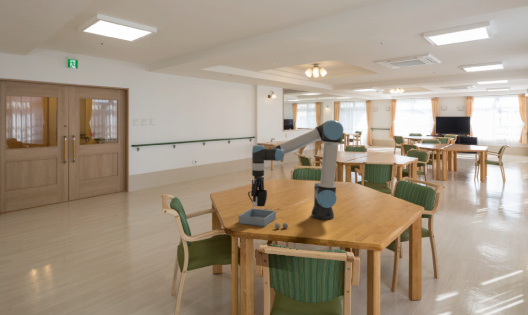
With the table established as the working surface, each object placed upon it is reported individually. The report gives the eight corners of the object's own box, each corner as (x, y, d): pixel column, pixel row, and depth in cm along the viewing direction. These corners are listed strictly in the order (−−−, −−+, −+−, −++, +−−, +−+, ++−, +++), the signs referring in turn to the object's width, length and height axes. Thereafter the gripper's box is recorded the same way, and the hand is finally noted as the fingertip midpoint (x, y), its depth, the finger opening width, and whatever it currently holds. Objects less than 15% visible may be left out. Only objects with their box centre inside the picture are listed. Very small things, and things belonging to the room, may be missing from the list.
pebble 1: (281, 228, 196) (281, 222, 195) (279, 229, 193) (279, 224, 192) (275, 227, 197) (275, 221, 197) (273, 229, 194) (273, 223, 194)
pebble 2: (288, 227, 196) (288, 222, 196) (286, 229, 194) (287, 224, 193) (283, 227, 198) (283, 222, 197) (281, 228, 195) (281, 223, 194)
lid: (271, 210, 235) (271, 207, 235) (269, 216, 222) (269, 212, 221) (258, 210, 237) (258, 207, 236) (254, 215, 223) (254, 212, 223)
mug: (248, 203, 213) (248, 189, 212) (267, 204, 212) (267, 189, 211) (247, 206, 205) (247, 191, 204) (266, 207, 204) (266, 192, 203)
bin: (276, 218, 216) (276, 211, 215) (264, 227, 198) (264, 219, 197) (251, 215, 222) (251, 208, 222) (238, 223, 204) (238, 215, 204)
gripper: (259, 167, 218) (258, 200, 220) (245, 171, 199) (245, 207, 201) (269, 168, 215) (269, 201, 217) (256, 172, 196) (256, 209, 198)
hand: (257, 204), depth 209 cm, fingers closed on mug, 8 cm apart
